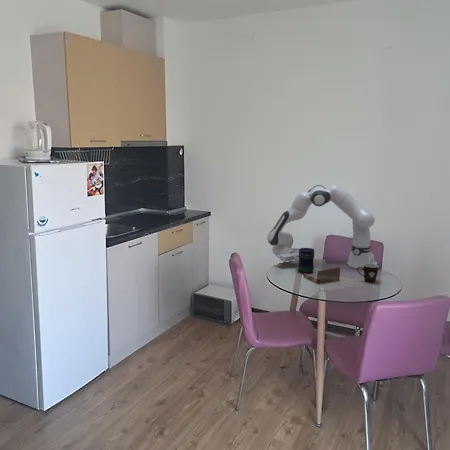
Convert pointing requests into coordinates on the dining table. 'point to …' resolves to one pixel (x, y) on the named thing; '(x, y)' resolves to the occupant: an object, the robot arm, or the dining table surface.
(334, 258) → the dining table surface
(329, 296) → the dining table surface
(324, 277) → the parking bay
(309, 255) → the dark blue cylinder
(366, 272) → the coffee mug
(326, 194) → the robot arm
